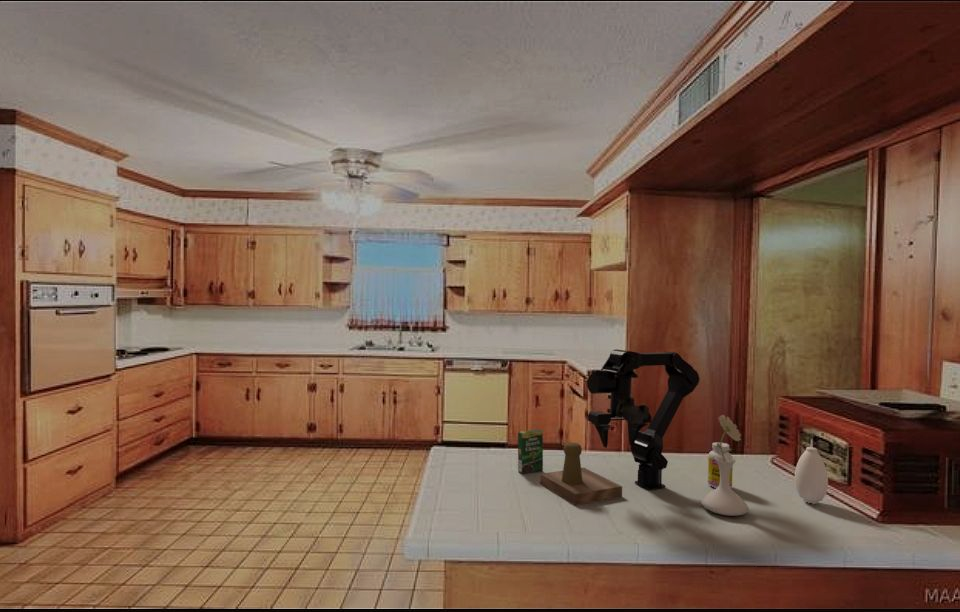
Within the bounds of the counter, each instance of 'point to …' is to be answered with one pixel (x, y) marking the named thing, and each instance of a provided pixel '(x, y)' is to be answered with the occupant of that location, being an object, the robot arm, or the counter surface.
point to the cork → (572, 464)
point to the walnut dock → (582, 487)
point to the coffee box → (530, 451)
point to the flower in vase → (725, 480)
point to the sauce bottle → (811, 476)
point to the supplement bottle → (714, 467)
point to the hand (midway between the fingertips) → (618, 446)
